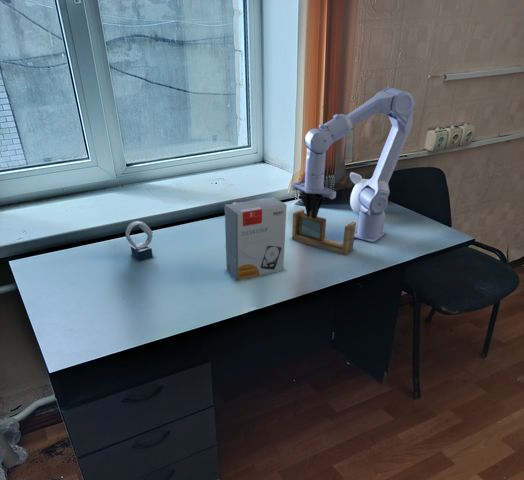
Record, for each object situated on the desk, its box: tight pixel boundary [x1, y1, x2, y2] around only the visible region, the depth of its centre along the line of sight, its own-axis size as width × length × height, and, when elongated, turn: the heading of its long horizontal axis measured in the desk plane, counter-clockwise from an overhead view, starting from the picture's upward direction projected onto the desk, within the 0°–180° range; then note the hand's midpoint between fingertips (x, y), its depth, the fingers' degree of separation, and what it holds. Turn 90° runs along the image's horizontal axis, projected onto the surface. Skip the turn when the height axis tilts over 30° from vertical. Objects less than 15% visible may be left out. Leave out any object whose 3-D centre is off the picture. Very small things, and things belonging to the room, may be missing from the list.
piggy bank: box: [349, 171, 370, 215], centre depth 175 cm, size 12×12×15 cm
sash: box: [299, 210, 324, 241], centre depth 155 cm, size 2×9×9 cm, turn 54°
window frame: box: [291, 208, 357, 256], centre depth 154 cm, size 5×20×9 cm, turn 54°
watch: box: [125, 220, 154, 262], centre depth 146 cm, size 6×8×11 cm
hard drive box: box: [224, 196, 287, 282], centre depth 136 cm, size 16×8×20 cm, turn 117°
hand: (311, 216), depth 153 cm, fingers closed on sash
